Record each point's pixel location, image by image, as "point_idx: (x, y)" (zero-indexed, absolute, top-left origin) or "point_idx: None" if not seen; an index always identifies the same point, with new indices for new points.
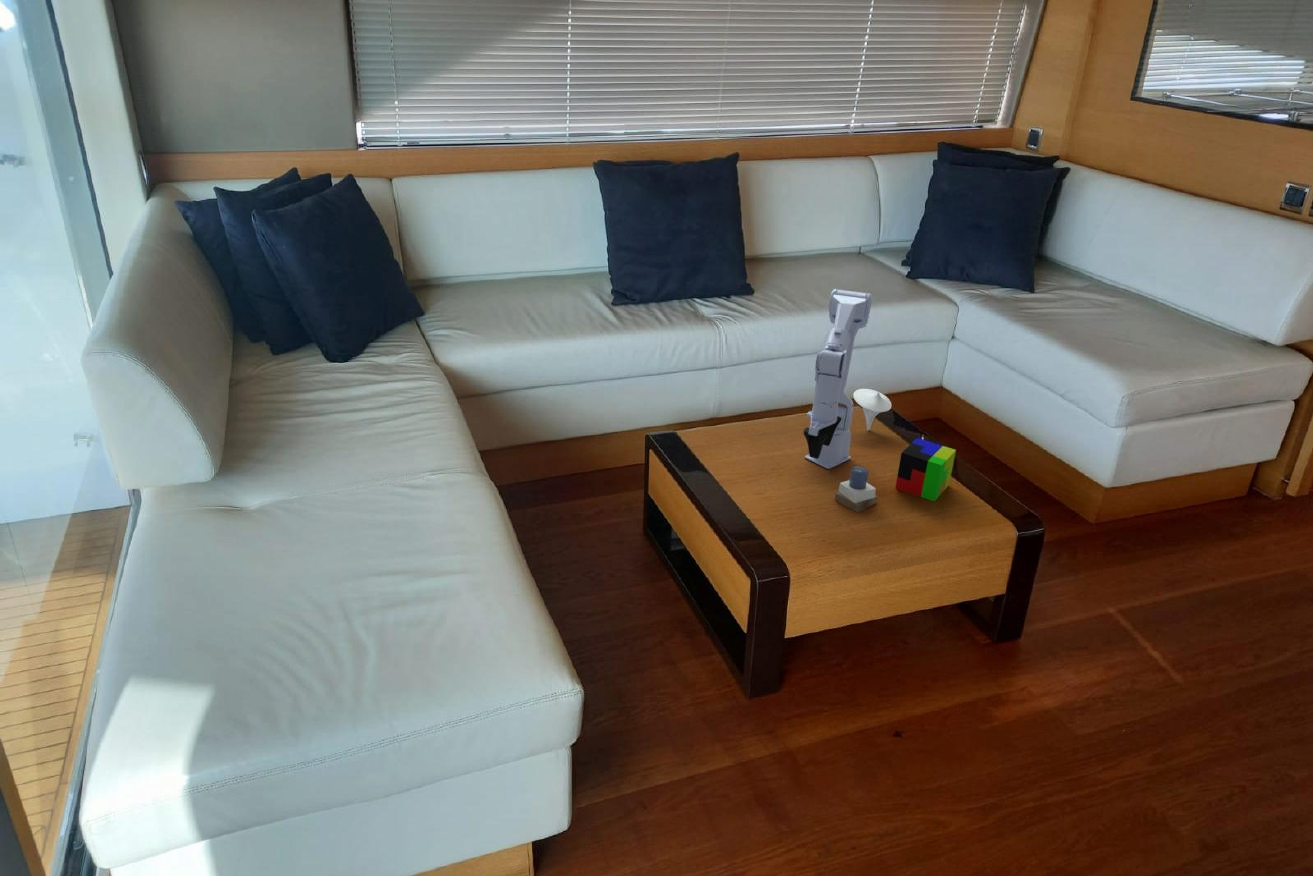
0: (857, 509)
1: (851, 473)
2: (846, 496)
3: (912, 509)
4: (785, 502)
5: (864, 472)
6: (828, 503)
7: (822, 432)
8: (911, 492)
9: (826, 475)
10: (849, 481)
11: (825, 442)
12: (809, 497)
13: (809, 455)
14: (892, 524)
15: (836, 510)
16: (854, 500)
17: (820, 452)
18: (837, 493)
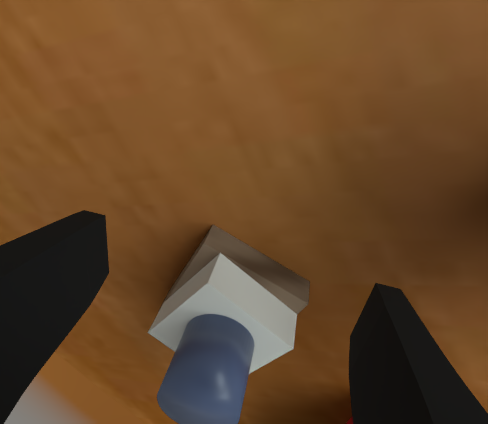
0: (166, 296)
1: (177, 370)
2: (190, 280)
3: (257, 406)
4: (86, 22)
5: (190, 420)
6: (177, 205)
7: (407, 407)
8: (352, 421)
9: (434, 179)
10: (206, 325)
11: (362, 338)
12: (187, 128)
13: (75, 213)
14: (154, 361)
15: (144, 233)
16: (163, 306)
17: (69, 321)
18: (205, 249)
